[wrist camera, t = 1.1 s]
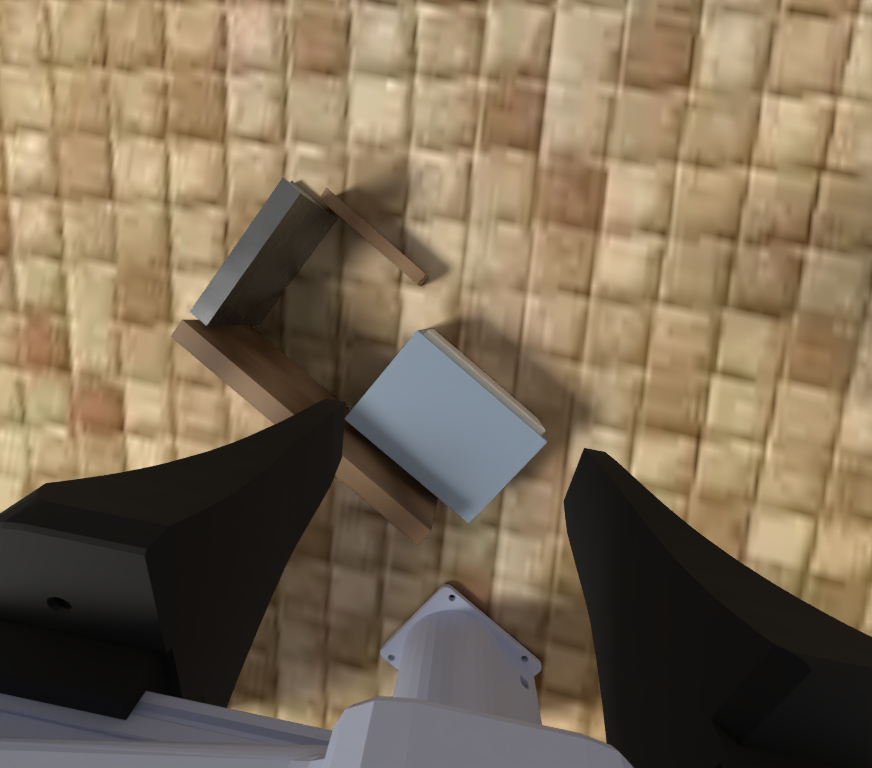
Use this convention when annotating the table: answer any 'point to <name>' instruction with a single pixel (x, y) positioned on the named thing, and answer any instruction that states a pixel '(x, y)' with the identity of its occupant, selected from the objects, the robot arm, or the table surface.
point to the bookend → (264, 259)
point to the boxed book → (448, 424)
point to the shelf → (316, 396)
